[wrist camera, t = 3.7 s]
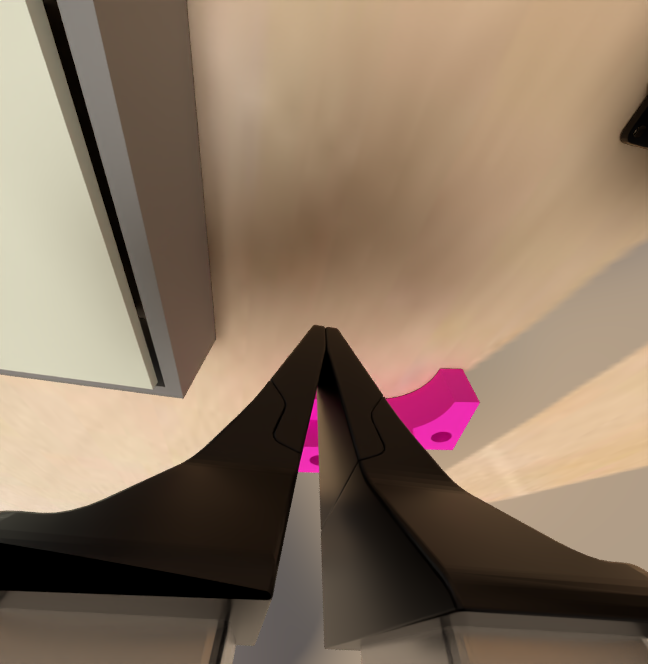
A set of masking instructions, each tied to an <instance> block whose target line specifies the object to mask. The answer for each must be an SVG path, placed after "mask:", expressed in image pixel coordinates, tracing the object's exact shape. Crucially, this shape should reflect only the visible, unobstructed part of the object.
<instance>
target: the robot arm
mask: <svg viewBox="0 0 648 664" xmlns="http://www.w3.org/2000/svg"><path fill="white" fill-rule="evenodd" d="M638 127H639V130H638V132H637V133H636V134H635V135H634V132H635V130H636V129H637V128H638ZM621 141H622V142H623V143H626V144H629V145H633V146H637V147H641V148H645V149H648V96H647V97H646V99H645V100H644V102H643V103H642V105H641V106H640V107H639V109H638V110H637V112H636V113H635V115H634V116H633V117H632V119H631V120H630V122H629V123H628V125H627V126H626V127H625V129H624V130H623V132H622V135H621ZM316 391H317V417H318V451H319V484H320V517H321V530H322V531H321V549H322V550H321V552H322V584H323V617H324V647H325V649H336V650H359V651H361V664H648V572H647V571H645V570H644V569H642V568H640V567H638V566H635V565H633V564H629V563H621V562H610V561H604V560H599V559H596V558H593V557H590V556H587V555H585V554H582V553H580V552H577V551H575V550H573V549H571V548H569V547H567V546H565V545H563V544H561V543H559V542H557V541H555V540H553V539H552V538H550V537H548V536H546V535H544V534H542V533H540V532H539V531H537V530H535V529H533V528H531V527H529V526H528V525H526V524H524V523H522V522H521V521H519V520H517V519H515V518H513V517H511V516H509V515H508V514H506V513H504V512H502V511H500V510H499V509H497V508H495V507H493V506H491V505H489V504H488V503H486V502H484V501H482V500H480V499H479V498H477V497H475V496H473V495H471V494H470V493H468V492H466V491H465V490H464V489H462V488H461V487H460V486H458V485H457V484H456V483H455V482H454V481H453V480H452V479H451V478H450V477H449V476H448V475H447V474H446V473H445V472H444V471H443V470H442V469H441V468H440V466H439V465H438V464H437V463H436V462H435V460H434V459H433V458H432V457H431V456H430V455H429V453H428V452H427V451H426V450H425V449H424V447H423V446H422V445H421V444H420V443H419V441H418V440H417V439H416V438H415V437H414V436H413V434H412V433H411V432H410V431H409V429H408V428H407V427H406V426H405V424H404V423H403V422H402V421H401V419H400V418H399V417H398V415H397V414H396V413H395V411H394V410H393V409H392V407H391V406H390V404H389V403H388V401H387V400H386V398H385V397H383V394H382V393H381V391H380V390H379V388H378V387H377V386H376V384H375V383H374V381H373V380H372V378H371V377H370V375H369V374H368V372H367V371H366V369H365V368H364V367H363V365H362V364H361V362H360V361H359V359H358V358H357V356H356V355H355V353H354V352H353V351H352V349H351V348H350V346H349V345H348V343H347V342H346V340H345V339H344V337H343V336H342V335H341V333H340V332H339V330H338V329H337V328H331V327H326V328H325V327H324V326H319V325H313V326H312V328H311V329H310V330H309V331H308V333H307V334H306V335H305V336H304V338H303V339H302V340H301V341H300V343H299V344H298V345H297V347H296V348H295V349H294V350H293V352H292V353H291V354H290V355H289V357H288V358H287V359H286V360H285V362H284V363H283V364H282V365H281V367H280V368H279V369H278V371H277V372H276V373H275V374H274V376H273V377H272V378H271V379H270V381H269V382H268V383H267V384H266V385H265V387H264V388H263V389H262V390H261V392H260V393H259V394H258V395H257V396H256V397H255V399H254V400H253V401H252V402H251V403H250V404H249V405H248V406H247V407H246V408H245V409H244V410H243V411H242V412H241V413H240V414H239V415H238V416H237V417H236V418H235V419H234V420H233V421H231V422H230V423H229V424H228V425H227V426H226V427H225V428H224V429H223V430H222V431H221V432H220V433H219V434H218V435H217V436H216V437H215V438H214V439H213V440H212V441H210V442H209V443H208V444H207V445H206V446H205V447H204V448H203V449H202V450H200V451H199V452H198V453H197V454H195V455H194V456H193V457H191V458H190V459H188V460H186V461H185V462H183V463H181V464H179V465H177V466H175V467H173V468H170V469H168V470H166V471H164V472H162V473H159V474H157V475H155V476H153V477H151V478H149V479H146V480H144V481H142V482H140V483H138V484H135V485H133V486H131V487H129V488H127V489H125V490H122V491H120V492H118V493H116V494H114V495H111V496H109V497H107V498H105V499H103V500H100V501H98V502H95V503H93V504H90V505H88V506H84V507H81V508H77V509H73V510H69V511H63V512H57V513H36V512H25V511H0V664H232V663H233V657H234V652H235V646H236V645H248V646H250V645H251V646H254V645H255V643H256V640H257V637H258V635H259V632H260V629H261V627H262V624H263V621H264V619H265V616H266V613H267V611H268V608H269V605H270V602H271V600H272V597H273V592H274V587H275V581H276V576H277V571H278V566H279V561H280V556H281V551H282V546H283V541H284V537H285V532H286V527H287V522H288V517H289V512H290V507H291V503H292V498H293V493H294V488H295V483H296V479H297V474H298V470H299V465H300V461H301V456H302V452H303V448H304V443H305V439H306V435H307V430H308V426H309V421H310V417H311V413H312V408H313V404H314V400H315V395H316Z"/></svg>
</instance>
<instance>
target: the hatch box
mask: <svg viewBox="0 0 648 664" xmlns="http://www.w3.org/2000/svg"><path fill="white" fill-rule="evenodd" d="M57 3H58V7H59V11H60V14H61V18H62V21H63V25H64V28H65V32H66V35H67V39H68V42H69V46H70V50H71V53H72V57H73V60H74V64H75V67H76V71H77V74H78V78H79V82H80V85H81V89H82V92H83V96H84V99H85V103H86V106H87V110H88V114H89V117H90V121H91V124H92V128H93V131H94V135H95V138H96V142H97V146H98V149H99V153H100V156H101V160H102V163H103V167H104V170H105V174H106V178H107V181H108V185H109V188H110V192H111V195H112V199H113V202H114V206H115V209H116V213H117V217H118V220H119V224H120V227H121V231H122V234H123V238H124V241H125V245H126V249H127V252H128V256H129V259H130V263H131V266H132V270H133V273H134V277H135V281H136V284H137V288H138V291H139V295H140V298H141V302H142V305H143V309H144V313H145V316H146V319H142V318H139V321H140V325H141V328H142V331H143V335H144V338H145V341H146V345H147V348H148V351H149V354H150V358H151V361H152V364H153V368H154V371H155V374H156V378H157V381H158V383H157V384H156V386H155V387H154V389H145V388H138V387H130V386H123V385H115V384H108V383H100V382H93V381H85V380H78V379H70V378H63V377H55V376H48V375H40V374H33V373H25V372H18V371H10V370H3V369H0V375H8V376H15V377H23V378H31V379H38V380H46V381H53V382H61V383H69V384H76V385H84V386H91V387H99V388H107V389H114V390H122V391H129V392H137V393H144V394H152V395H160V396H167V397H175V398H182V399H183V398H184V397H185V395H186V393H187V391H188V389H189V387H190V386H191V384H192V382H193V380H194V378H195V376H196V375H197V373H198V371H199V369H200V367H201V365H202V364H203V362H204V360H205V358H206V356H207V354H208V353H209V351H210V349H211V347H212V345H213V343H214V342H215V340H216V333H215V321H214V310H213V299H212V287H211V276H210V264H209V253H208V241H207V230H206V219H205V207H204V196H203V184H202V173H201V161H200V150H199V139H198V127H197V116H196V104H195V93H194V81H193V70H192V59H191V47H190V36H189V24H188V13H187V1H186V0H57Z"/></svg>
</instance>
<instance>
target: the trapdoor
mask: <svg viewBox="0 0 648 664" xmlns="http://www.w3.org/2000/svg"><path fill="white" fill-rule="evenodd" d="M0 369H3V370H10V371H18V372H25V373H33V374H40V375H48V376H55V377H63V378H70V379H78V380H85V381H93V382H100V383H108V384H115V385H123V386H130V387H138V388H145V389H154V387H155V386H156V384H157V383H158V381H157V378H156V374H155V371H154V368H153V364H152V361H151V358H150V354H149V351H148V348H147V345H146V341H145V338H144V335H143V331H142V328H141V325H140V321H139V318H138V315H137V312H136V308H135V305H134V302H133V298H132V295H131V292H130V288H129V285H128V282H127V279H126V275H125V272H124V269H123V265H122V262H121V259H120V255H119V252H118V249H117V246H116V242H115V239H114V236H113V232H112V229H111V226H110V222H109V219H108V216H107V213H106V209H105V206H104V203H103V199H102V196H101V193H100V190H99V186H98V183H97V180H96V176H95V173H94V170H93V166H92V163H91V160H90V157H89V153H88V150H87V147H86V143H85V140H84V137H83V133H82V130H81V127H80V124H79V120H78V117H77V114H76V110H75V107H74V104H73V100H72V97H71V94H70V91H69V87H68V84H67V81H66V77H65V74H64V71H63V67H62V64H61V61H60V58H59V54H58V51H57V48H56V44H55V41H54V38H53V34H52V31H51V28H50V25H49V21H48V18H47V15H46V11H45V8H44V5H43V1H42V0H0Z"/></svg>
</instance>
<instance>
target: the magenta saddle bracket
mask: <svg viewBox="0 0 648 664" xmlns="http://www.w3.org/2000/svg"><path fill="white" fill-rule="evenodd" d="M386 400H387V401H388V403H389V404H390V406H391V407H392V409H393V410H394V411H395V413H396V414H397V415H398V417H399V418H400V419H401V421H402V422H403V423H404V424H405V426H406V427H407V428H408V429H409V431H410V432H411V433H412V434H413V436H414V437H415V438H416V439H417V440H418V441H419V443H420V444H421V445H422V446H423V447H424V449H432V450H433V449H435V450H453V448H454V447H455V445H456V443H457V441H458V439H459V438H460V436H461V434H462V433H463V431H464V429H465V427H466V426H467V424H468V422H469V421H470V419H471V417H472V415H473V414H474V412H475V410H476V408H477V407H478V405H479V403H480V402H479V400H478V398H477V396H476V394H475V392H474V390H473V389H472V387H471V385H470V383H469V381H468V379H467V377H466V375H465V373H464V371H463V370H462V369H440V370H439V371H438V373H437V374H436V375H435V377H434V378H433V379H432V380H431V381H430V382H428V383H427V384H426V385H425V386H423V387H422V388H420V389H418V390H416V391H414V392H412V393H409V394H407V395H404V396H400V397H395V398H389V399H386ZM298 472H319V451H318V417H317V391H316V395H315V400H314V404H313V408H312V413H311V417H310V421H309V426H308V430H307V435H306V439H305V443H304V448H303V452H302V456H301V461H300V465H299V470H298Z"/></svg>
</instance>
